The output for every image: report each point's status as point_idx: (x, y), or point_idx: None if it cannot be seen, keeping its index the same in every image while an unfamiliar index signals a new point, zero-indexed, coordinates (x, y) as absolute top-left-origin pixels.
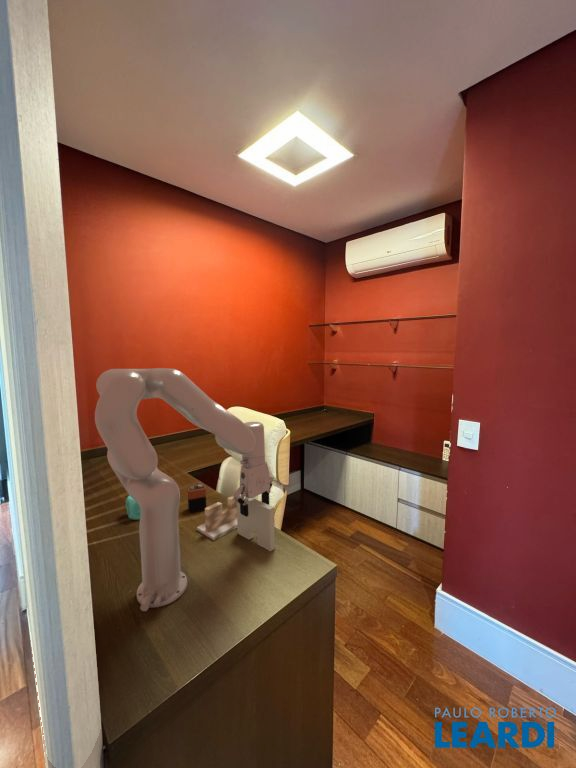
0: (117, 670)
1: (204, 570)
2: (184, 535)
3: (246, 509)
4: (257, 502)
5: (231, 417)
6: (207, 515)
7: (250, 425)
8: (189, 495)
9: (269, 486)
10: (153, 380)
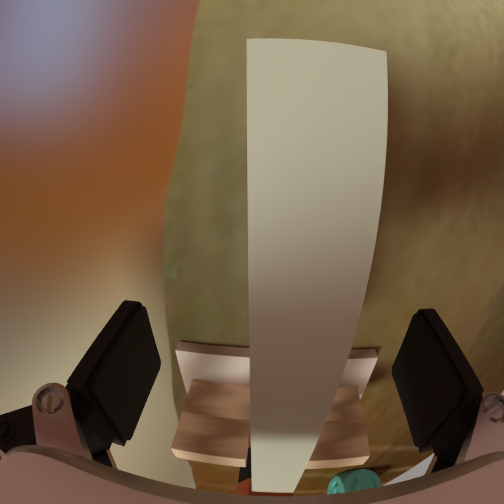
0: None
1: (494, 252)
2: (384, 407)
3: (459, 357)
4: (302, 384)
5: None
6: (364, 437)
7: None
8: (291, 494)
9: (4, 472)
10: None
